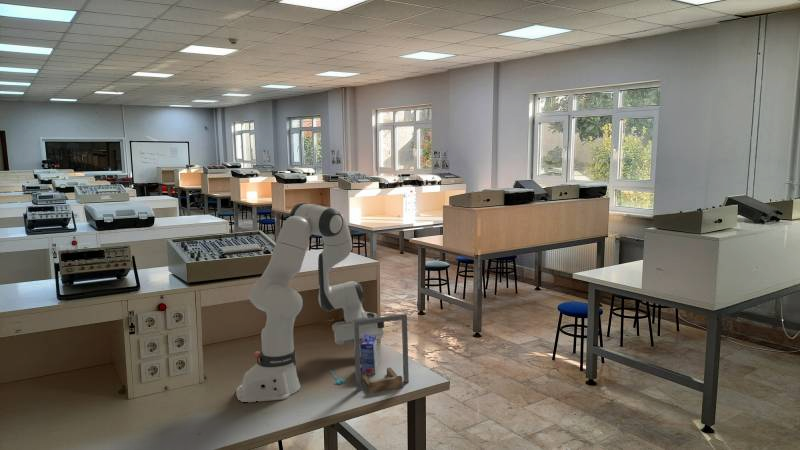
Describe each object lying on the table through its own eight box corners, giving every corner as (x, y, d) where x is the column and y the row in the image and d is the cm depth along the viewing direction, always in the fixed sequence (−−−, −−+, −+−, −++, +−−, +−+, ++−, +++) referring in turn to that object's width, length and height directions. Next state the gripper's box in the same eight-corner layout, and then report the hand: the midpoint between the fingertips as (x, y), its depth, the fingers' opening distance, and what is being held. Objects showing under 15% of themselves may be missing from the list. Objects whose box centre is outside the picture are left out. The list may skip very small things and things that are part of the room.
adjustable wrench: (348, 381, 204) (335, 384, 202) (348, 383, 204) (335, 386, 202) (336, 368, 216) (324, 370, 214) (336, 370, 217) (324, 372, 215)
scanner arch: (357, 391, 196) (354, 322, 193) (355, 388, 199) (353, 320, 195) (409, 382, 203) (407, 315, 199) (406, 380, 205) (405, 313, 201)
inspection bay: (370, 393, 194) (369, 382, 194) (360, 378, 207) (359, 368, 206) (402, 387, 198) (402, 377, 198) (390, 373, 211) (390, 363, 210)
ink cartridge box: (365, 364, 221) (364, 329, 219) (379, 364, 220) (377, 329, 218) (361, 374, 211) (359, 338, 209) (375, 374, 210) (374, 338, 208)
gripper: (332, 319, 226) (338, 350, 218) (380, 313, 233) (388, 343, 225) (330, 326, 231) (336, 357, 223) (377, 320, 238) (384, 350, 230)
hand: (362, 350), depth 224 cm, fingers closed
